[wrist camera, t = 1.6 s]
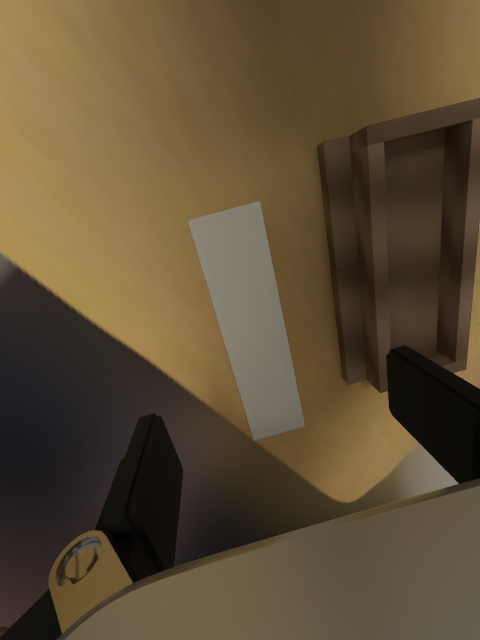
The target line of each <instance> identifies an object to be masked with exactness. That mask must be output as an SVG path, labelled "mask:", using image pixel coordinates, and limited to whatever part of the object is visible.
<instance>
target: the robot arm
mask: <svg viewBox="0 0 480 640" xmlns="http://www.w3.org/2000/svg"><path fill="white" fill-rule="evenodd" d="M386 365H387V381H388V398H389V409H390V412H391V414H392V415H393V417H394V418H395V419H396V420H397V421H398V422H399V423H400V424H401V425H402V426H403V427H404V428H405V429H406V430H407V431H408V432H409V433H410V434H411V435H412V436H413V437H414V438H415V439H416V440H417V441H418V442H419V443H420V444H421V445H422V446H423V447H424V448H425V449H426V450H427V451H428V452H429V453H430V454H431V455H432V456H433V457H434V458H435V460H436V461H437V462H438V463H439V464H440V465H441V466H442V467H443V468H444V469H445V470H446V471H447V472H448V473H449V474H450V475H451V476H452V477H453V478H454V479H455V480H456V481H457V482H458V483H459V484H458V485H454V486H450V487H447V488H444V489H440V490H436V491H432V492H429V493H425V494H422V495H418V496H415V497H411V498H407V499H404V500H400V501H397V502H393V503H390V504H386V505H383V506H379V507H376V508H372V509H369V510H365V511H362V512H358V513H355V514H351V515H348V516H344V517H341V518H338V519H334V520H330V521H327V522H323V523H320V524H316V525H313V526H310V527H306V528H303V529H299V530H296V531H292V532H289V533H286V534H282V535H279V536H276V537H272V538H268V539H265V540H262V541H259V542H255V543H251V544H248V545H245V546H241V547H238V548H234V549H231V550H228V551H224V552H221V553H218V554H214V555H211V556H208V557H205V558H202V559H198V560H196V561H192V562H189V563H186V564H183V565H179V566H176V567H174V558H175V548H176V538H177V528H178V518H179V509H180V498H181V488H182V478H183V470H182V465H181V463H180V460H179V458H178V456H177V453H176V451H175V448H174V446H173V443H172V441H171V439H170V436H169V434H168V432H167V429H166V427H165V424H164V422H163V419H162V417H161V416H156V414H150V415H147V416H143V417H140V418H139V420H138V423H137V425H136V428H135V431H134V433H133V436H132V439H131V442H130V444H129V447H128V450H127V453H126V456H125V458H123V459H122V460H121V462H120V464H119V466H118V469H117V472H116V475H115V477H114V480H113V483H112V485H111V488H110V491H109V493H108V496H107V499H106V501H105V504H104V507H103V509H102V512H101V515H100V517H99V520H98V523H97V525H96V528H95V531H90V532H87V533H85V534H83V535H81V536H79V537H78V538H76V539H75V540H74V541H72V542H71V543H70V544H69V545H68V546H67V547H66V548H65V549H64V550H63V552H62V553H61V554H60V556H59V557H58V558H57V560H56V562H55V564H54V566H53V568H52V570H51V573H50V577H49V589H48V590H47V592H46V593H45V594H43V595H42V596H41V598H39V599H38V600H37V601H36V602H35V603H34V604H33V606H31V607H30V608H29V609H28V610H27V612H25V614H23V615H22V617H20V618H19V619H18V620H17V621H16V622H15V623H14V624H13V625H12V626H11V627H10V628H9V629H8V630H7V631H6V632H5V633H4V634H3V635H2V636H1V637H0V640H480V389H479V388H477V387H475V386H474V385H472V384H470V383H469V382H467V381H465V380H464V379H462V378H460V377H458V376H457V375H455V374H453V373H452V372H450V371H448V370H447V369H445V368H443V367H442V366H440V365H438V364H437V363H435V362H433V361H432V360H430V359H428V358H427V357H425V356H423V355H422V354H420V353H418V352H417V351H415V350H413V349H412V348H410V347H408V346H406V345H404V346H400V347H396V348H393V349H390V351H389V353H388V354H387V355H386Z"/></svg>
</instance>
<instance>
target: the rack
mask: <svg viewBox="0 0 480 640" xmlns="http://www.w3.org/2000/svg"><path fill="white" fill-rule="evenodd" d="M318 155H319V165H320V174H321V183H322V192H323V201H324V210H325V219H326V228H327V237H328V246H329V255H330V264H331V274H332V283H333V292H334V301H335V310H336V319H337V328H338V337H339V346H340V355H341V364H342V373H343V379H344V380H345V381H346V383H347V384H348V385H349V384H353V383H356V382H360V381H364V380H368V381H369V382H370V383H371V384H372V385H373V386H374V387H375V388H376V389H377V390H378V391H379V392H380V393H382V392H386V391H388V381H387V365H386V355H387V354H388V353H389V351H390V349H393V348H396V347H400V346H404V345H406V346H408V347H410V348H412V349H413V350H415V351H417V352H418V353H420V354H422V355H423V356H425V357H427V358H428V359H430V360H432V361H433V362H435V363H437V364H438V365H440V366H442V367H443V368H445V369H447V370H448V371H450V372H452V373H455V372H458V371H462V370H466V364H467V353H468V342H469V331H470V320H471V309H472V298H473V286H474V275H475V264H476V253H477V242H478V231H479V220H480V98H477V99H473V100H469V101H465V102H461V103H457V104H453V105H449V106H445V107H441V108H437V109H433V110H429V111H425V112H421V113H417V114H413V115H409V116H405V117H401V118H397V119H393V120H389V121H385V122H381V123H377V124H373V125H369V126H366V127H364V128H363V129H361V130H359V131H357V132H356V133H354V134H352V135H350V136H347V137H343V138H339V139H335V140H331V141H327V142H323V143H322V144H320V145H319V146H318Z"/></svg>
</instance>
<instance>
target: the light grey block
mask: <svg viewBox="0 0 480 640" xmlns="http://www.w3.org/2000/svg"><path fill="white" fill-rule="evenodd" d="M188 223H189V227H190V230H191V233H192V236H193V240H194V243H195V246H196V250H197V253H198V256H199V260H200V263H201V266H202V270H203V273H204V276H205V280H206V283H207V286H208V290H209V293H210V296H211V300H212V303H213V306H214V310H215V313H216V316H217V320H218V323H219V326H220V330H221V333H222V336H223V340H224V343H225V346H226V350H227V353H228V356H229V360H230V363H231V366H232V370H233V373H234V376H235V379H236V383H237V386H238V389H239V393H240V396H241V399H242V403H243V406H244V409H245V413H246V416H247V419H248V423H249V426H250V429H251V433H252V436H253V439H254V441H256V440H259V439H263V438H266V437H270V436H273V435H277V434H280V433H284V432H288V431H291V430H295V429H298V428H302V427H305V423H304V418H303V413H302V408H301V403H300V398H299V393H298V388H297V383H296V378H295V373H294V368H293V363H292V358H291V353H290V348H289V343H288V338H287V333H286V328H285V323H284V318H283V313H282V308H281V304H280V299H279V294H278V289H277V284H276V279H275V274H274V269H273V264H272V259H271V254H270V249H269V244H268V239H267V234H266V229H265V224H264V219H263V214H262V209H261V204H260V201H258V202H254V203H250V204H246V205H243V206H239V207H235V208H231V209H228V210H224V211H220V212H216V213H213V214H209V215H205V216H201V217H198V218H194V219H190V220H188Z"/></svg>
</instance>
